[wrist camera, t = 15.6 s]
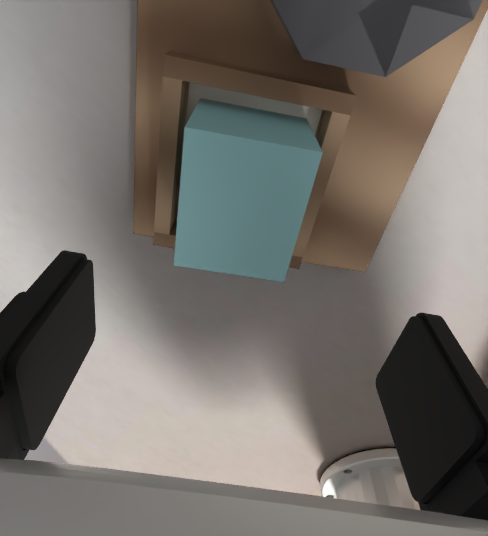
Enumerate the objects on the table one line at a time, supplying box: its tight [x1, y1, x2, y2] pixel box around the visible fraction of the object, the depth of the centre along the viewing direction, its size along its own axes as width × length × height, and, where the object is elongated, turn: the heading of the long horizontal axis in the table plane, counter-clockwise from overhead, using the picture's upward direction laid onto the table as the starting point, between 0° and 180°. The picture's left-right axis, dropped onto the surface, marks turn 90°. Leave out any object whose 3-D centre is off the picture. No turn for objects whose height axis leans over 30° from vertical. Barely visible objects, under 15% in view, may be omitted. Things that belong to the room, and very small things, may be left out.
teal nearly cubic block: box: [174, 98, 323, 282], centre depth 17 cm, size 6×5×5 cm
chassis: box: [133, 0, 488, 272], centre depth 16 cm, size 19×14×4 cm
